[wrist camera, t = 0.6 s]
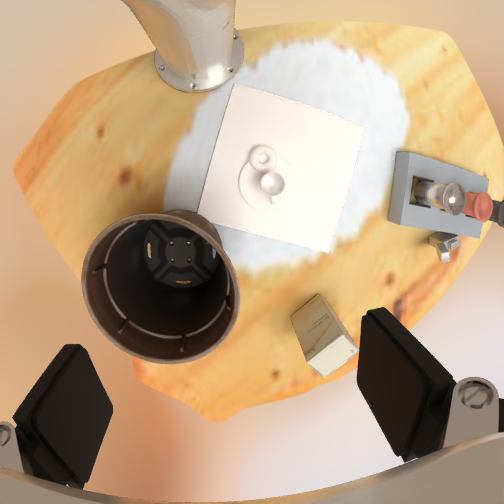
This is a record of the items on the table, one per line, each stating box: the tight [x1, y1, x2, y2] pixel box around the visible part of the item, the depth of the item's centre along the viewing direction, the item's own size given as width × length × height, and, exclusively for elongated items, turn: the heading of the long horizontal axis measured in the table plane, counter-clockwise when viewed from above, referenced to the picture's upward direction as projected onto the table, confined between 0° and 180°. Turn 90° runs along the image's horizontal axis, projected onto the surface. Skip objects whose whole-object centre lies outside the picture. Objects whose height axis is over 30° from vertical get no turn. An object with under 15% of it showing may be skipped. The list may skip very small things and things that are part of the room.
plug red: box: [462, 192, 493, 222], centre depth 35 cm, size 4×4×8 cm
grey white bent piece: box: [429, 231, 460, 263], centre depth 42 cm, size 7×2×8 cm, turn 107°
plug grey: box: [414, 181, 467, 216], centre depth 35 cm, size 4×4×8 cm
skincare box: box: [290, 294, 359, 378], centre depth 41 cm, size 6×4×12 cm
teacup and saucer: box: [238, 144, 298, 212], centre depth 39 cm, size 9×8×4 cm
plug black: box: [488, 200, 504, 227], centre depth 36 cm, size 4×4×8 cm
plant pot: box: [81, 210, 240, 364], centre depth 35 cm, size 16×16×16 cm
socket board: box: [387, 152, 489, 238], centre depth 41 cm, size 11×20×4 cm, turn 84°
